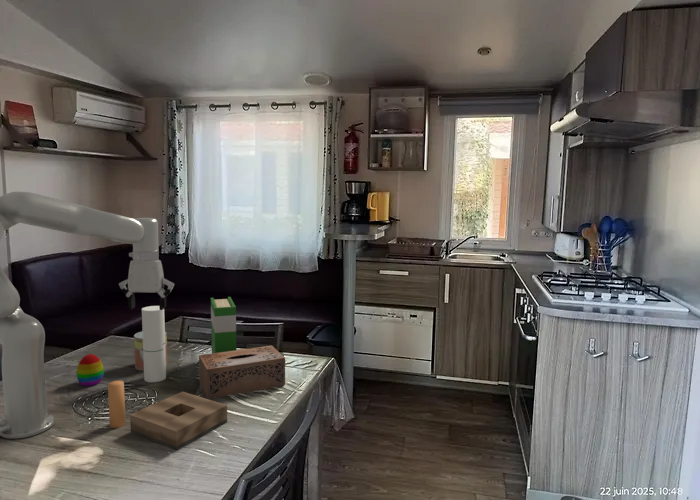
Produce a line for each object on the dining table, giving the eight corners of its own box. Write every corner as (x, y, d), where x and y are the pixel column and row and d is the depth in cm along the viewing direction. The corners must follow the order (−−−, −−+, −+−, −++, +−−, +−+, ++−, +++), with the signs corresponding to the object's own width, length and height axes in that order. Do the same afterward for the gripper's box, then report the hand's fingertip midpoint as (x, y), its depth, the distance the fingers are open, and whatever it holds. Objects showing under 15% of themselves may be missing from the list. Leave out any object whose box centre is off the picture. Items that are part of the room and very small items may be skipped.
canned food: (132, 371, 177) (131, 339, 175) (137, 361, 187) (136, 330, 186) (166, 369, 180) (165, 337, 178) (168, 358, 190) (167, 328, 189)
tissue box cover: (207, 399, 155) (207, 369, 154) (199, 383, 168) (198, 355, 166) (285, 386, 166) (285, 357, 165) (271, 371, 179) (271, 345, 178)
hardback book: (211, 357, 193) (210, 297, 190) (231, 355, 195) (230, 296, 192) (215, 373, 176) (214, 308, 173) (236, 371, 179) (235, 306, 176)
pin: (115, 429, 135) (113, 387, 133) (106, 425, 136) (104, 384, 135) (128, 423, 138) (126, 382, 137) (119, 419, 140) (117, 379, 138)
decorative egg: (91, 376, 171) (90, 349, 170) (109, 380, 168) (108, 352, 167) (71, 385, 163) (69, 356, 162) (90, 389, 161) (88, 359, 160)
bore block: (176, 450, 124) (176, 431, 124) (130, 432, 133) (130, 414, 132) (227, 421, 140) (226, 405, 139) (182, 407, 149) (182, 391, 148)
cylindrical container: (169, 375, 174) (167, 306, 171) (160, 382, 167) (157, 311, 164) (150, 374, 175) (148, 305, 172) (140, 381, 168) (137, 310, 164)
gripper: (113, 257, 152) (114, 311, 154) (169, 258, 153) (170, 312, 155) (123, 254, 160) (125, 305, 162) (177, 255, 160) (177, 306, 162)
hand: (147, 308), depth 158 cm, fingers open, 9 cm apart
